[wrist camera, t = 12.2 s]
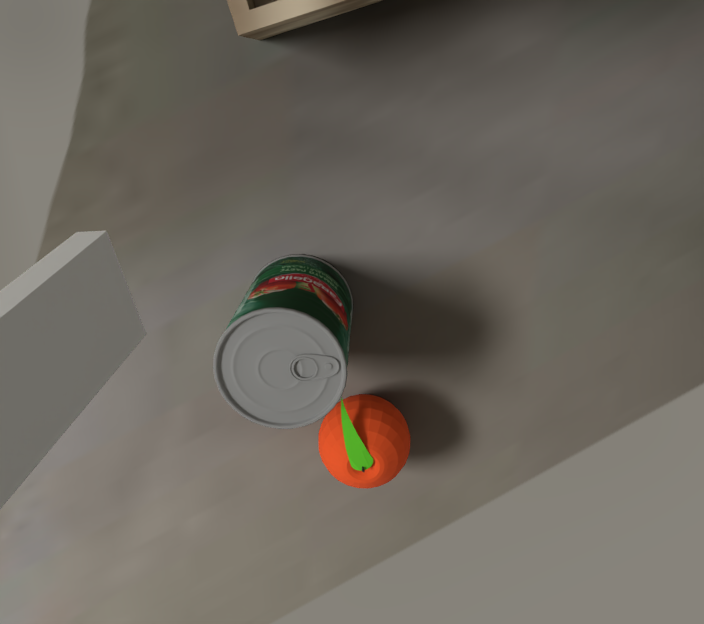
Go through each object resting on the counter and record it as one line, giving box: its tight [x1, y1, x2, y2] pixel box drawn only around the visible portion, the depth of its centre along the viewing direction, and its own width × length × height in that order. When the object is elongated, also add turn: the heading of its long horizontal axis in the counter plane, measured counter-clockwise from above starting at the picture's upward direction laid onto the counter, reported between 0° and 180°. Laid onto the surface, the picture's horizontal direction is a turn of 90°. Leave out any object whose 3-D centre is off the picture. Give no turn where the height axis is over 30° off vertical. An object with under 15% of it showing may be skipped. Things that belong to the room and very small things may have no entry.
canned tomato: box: [213, 254, 353, 429], centre depth 41 cm, size 8×8×11 cm
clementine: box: [319, 394, 411, 488], centre depth 46 cm, size 8×7×7 cm
